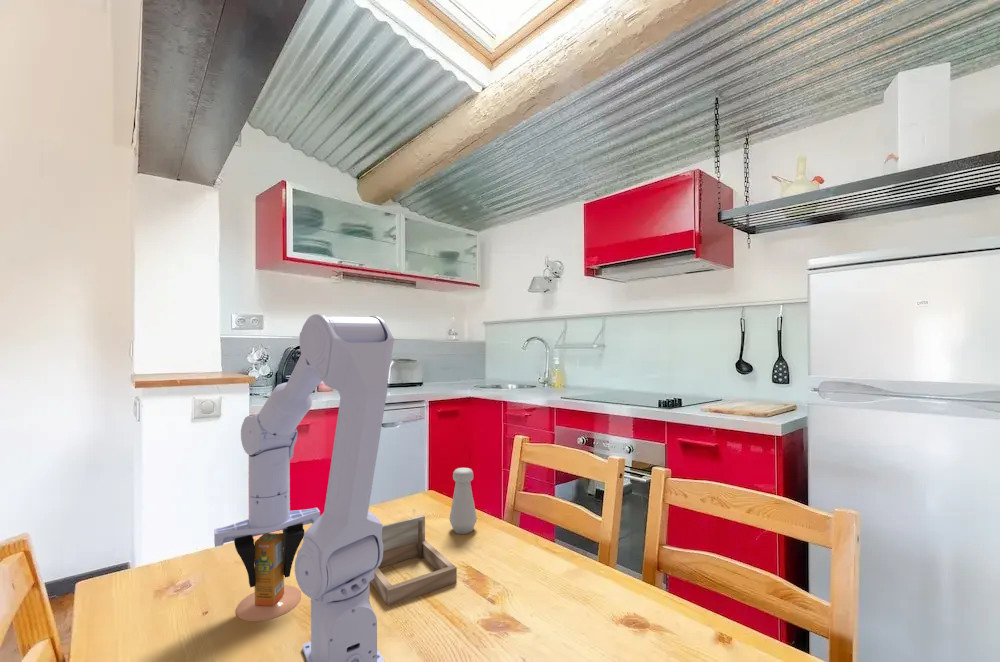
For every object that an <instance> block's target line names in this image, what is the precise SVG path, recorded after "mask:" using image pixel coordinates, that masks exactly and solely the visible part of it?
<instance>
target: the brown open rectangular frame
mask: <svg viewBox="0 0 1000 662" xmlns="http://www.w3.org/2000/svg"><path fill="white" fill-rule="evenodd" d="M382 525H383V524H382ZM382 542H383V558H382V562H381V564H380V565H379V567H378V568H376V569H374V579H372V580H371V581H370V584H371V585H372V587H373V588H374V589H375V591H376V592H377V593H378V595H379V596H380V598H382V600H383V601H384V602H385V604H386V605H387V606H388V607H390V606H392V605H396V604H398V603H401V602H404V601H408V600H410V599H413V598H416V597H419V596H422V595H425V594H428V593H430V592H433V591H436V590H439V589H442V588H445V587H448V586H450V585H453V584H455V583H457V579H458V577H457V573H458V571H457V569H458V568H457V566H456V565H454V564H453V562H451V561H450V560H449V559H448V558H447V557H446V556H444V555H443V554H442V553H441V552H440V551H439V550H437V548H435V547H434V546H433V545H432V544H430V543H429V542H428V541H427V540H426V516H425V515H420V516H415V517H412V518H408V519H407V518H406V519H405V520H400V521H399V520H398V521H396V522H392V523H388V524H384V525H383V528H382ZM417 557H418V559H423V558H424V560H426V561H427V562H428V563H429V564H430V565H431V566H432V567H433V568H434V569H435V571H432V572H428V573H426V574H425V573H424V574H422V575H419V576H416V577H414V578H411V579H407V580H405V581H402V582H399V583H395V584H393V585H392V584H391V582H390V581H389V580H388V578H387V577H386V576H385V574H384V573H383V572H382V571H381V570H380V568H384V567H387V566H391V565H393V564H397V563H401V562H404V561H406V560H410V559H414V558H417Z"/></svg>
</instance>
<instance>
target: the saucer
mask: <svg viewBox="0 0 1000 662" xmlns="http://www.w3.org/2000/svg"><path fill="white" fill-rule="evenodd" d="M301 600H302V591H301V589H300V588H299V587H298V588H297V587H296V586H292V585H288V584H287V585H286V584H284V595H283V596H282V597H281V598H280V600H279V601H278V602H277V603H276V604H275V605H274V606H256V605H255V591H253V592H252V593H251V594H249V595H247V596H245V597H244V598H243V599H242V600H241V601H240V602H239V603H238V604H237V606H236V609H235V610H236V611H235V613H236V614H235V615H236V616H237V617H239V619H240V620H244V621H247V622H261V621H267V620H272V619H275V618H278V617H280V616H283V615H285V614H287V613H289V612H291V611H292V610H293V609H295V608H296V607H297V606H298V605H299V603H301Z"/></svg>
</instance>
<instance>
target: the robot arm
mask: <svg viewBox="0 0 1000 662" xmlns="http://www.w3.org/2000/svg"><path fill="white" fill-rule="evenodd" d="M394 341H395V337H394V336H393V334H392V332H391V331H390V329H389V327H388V325H387V323H386V322H385V320H383V318H381V317H380V316H377V315H369V316H355V315H354V316H352V315H351V316H349V315H324V314H320V313H316V314H312V315H310V316H309V317H308V318H307V319H306V321H305V322H304V324H303V325H302V328H301V331H300V332H299V350H300V351H299V352H300V356H299V358H298V360H297V362H296V364H295V366H294V368H293V371H292V372H291V374H290V376H289V378H288V380H287V382H283V383H279V384H277V385H276V387H274V388H273V390H272V392H271V393H270V395H269V396H268V398H267V399H266V401H265V403H264V404H263V406H262V407H261V409H260V411H259V412H258V413H255V414H252V415H247V416H246V417H244V419H243V421H242V424H241V429H240V441H241V445H242V448H243V450H244V452H245V453H246V454H247V455H248V519H245V520H242V521H239V522H235V523H231V524H229V525H226V526H222V527H219V528H214V532H213V533H214V534H213V536H214V537H213V540H214V541H213V542H214V547H215V548H217V547H221V546H223V545H224V544H226V543H231V542H234V546H235V550H236V552H237V555H238V556H239V558H240V559H241V561H242V563H243V565H244V567H245V569H246V572H247V578H248V584H249V585H248V586H249V588H255V585H256V578H255V539H254V537H257V536H262V535H263V534H266V533H274V532H275V533H276V532H279V531H282V533H283V536H284V540H283V541H284V579H286V578H288V577H290V576H291V572H292V571H291V570H292V567H293V563H294V574H295V575H294V576H295V579H296V582H297V585H298V588H299V590H300V592H301V593H303V594H304V595H305V596H307V597H308V598H309V599H310V641H307V642H305V643H303V644H302V651H303V653H304V657H305V659H306V662H385V661H386V660H385V659H384V656H383V655H382V654H381V652H380V651H379V648H378V620H377V615H376V613H375V611H374V609H373V607H372V605H371V602H370V598H371V597H370V592H371V591H370V586H371V585H370V584H371V582H370V581H371V580H372V579H374V569H376V568H378V567H379V565H380V564H381V562H382V558H383V542H382V528H383V523H382V522H381V520H380V519H379V517H377V515H375V514H374V513H373V512H371V511H370V510H369V508H370V501H371V495H372V490H373V482H374V477H375V470H376V464H377V456H378V451H379V445H380V438H381V433H382V425H383V419H384V413H385V408H386V401H387V400H386V399H387V395H388V378H389V373H390V367H391V361H392V355H393V349H394ZM322 382H323V385H325V386H326V387H328V388H331V389H333V390H336V391H337V392H338V394H339V397H340V399H339V406H338V414H337V418H336V419H337V420H336V426H335V433H334V441H333V447H332V454H331V462H330V467H329V468H330V469H329V475H328V482H327V483H328V484H327V489H326V494H325V495H326V496H325V497H326V498H325V503H324V510H323V513H322V514H321V511H320V509H319V508H318V507H313V508H307V509H297V510H296V509H295V510H291V504H290V503H291V500H290V499H291V496H290V495H291V494H290V493H291V492H290V491H291V487H290V486H291V485H290V484H291V482H290V481H291V478H290V477H291V475H290V473H291V472H290V471H291V470H290V469H291V468H290V467H291V466H290V465H291V460H292V459H293V458H294V447H295V445H296V443H297V440H298V433H299V432H298V430H297V427H299V424H300V423H301V421H302V420H303V419H304V418H305V416H306V415H307V413H308V412H309V410H310V409H311V407H312V405H313V399H312V395H311V394H312V393H313V392H314V391H315V390H316V389H317V388H318V386H319V385H320V384H321V383H322ZM309 524H311V525H310V526H309V527H308V528H307V530H305V529H304V526H305V525H309ZM300 544H301V547H300ZM299 547H300V548H299ZM295 556H296V557H295ZM294 559H295V560H294ZM378 569H379V568H378Z"/></svg>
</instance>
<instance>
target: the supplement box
mask: <svg viewBox="0 0 1000 662" xmlns="http://www.w3.org/2000/svg"><path fill="white" fill-rule="evenodd" d="M283 540H284V536H283V532H279V533H277V532H275V533H274V532H271V533H266V534H262V535H260V537H258V538H257V539H256V540H254V545H255V563H254V567H255V578H256V585H255V586H254V592H255V605H256V606H274V605H275V604H276V603H277V602H278V601H279V600H280V598H281V597H282V596H283V595H284V585H285V576H284V541H283Z"/></svg>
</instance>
